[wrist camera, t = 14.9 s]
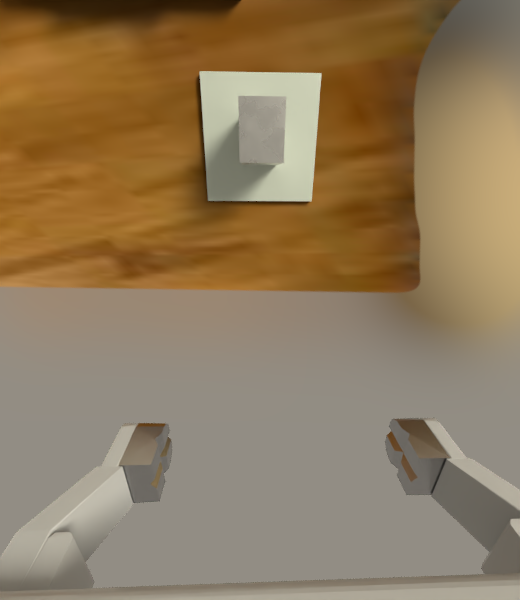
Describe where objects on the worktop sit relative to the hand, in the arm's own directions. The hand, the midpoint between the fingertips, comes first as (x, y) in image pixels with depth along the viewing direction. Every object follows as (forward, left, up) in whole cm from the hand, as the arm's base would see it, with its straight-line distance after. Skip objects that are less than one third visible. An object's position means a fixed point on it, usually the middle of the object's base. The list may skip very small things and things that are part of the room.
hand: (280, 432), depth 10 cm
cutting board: (0, +12, -31) cm, 33 cm away
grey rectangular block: (0, +12, -30) cm, 32 cm away
